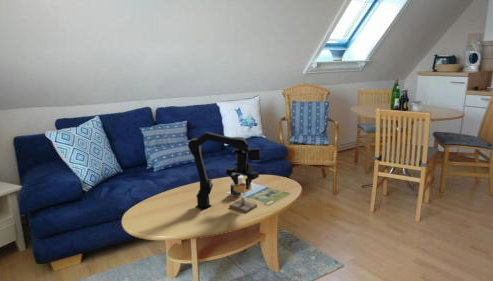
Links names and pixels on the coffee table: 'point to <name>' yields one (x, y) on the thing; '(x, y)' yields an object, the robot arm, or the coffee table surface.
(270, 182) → the coffee table surface
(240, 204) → the keeper plate
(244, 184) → the brown hollow square block
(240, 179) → the medicine bottle
